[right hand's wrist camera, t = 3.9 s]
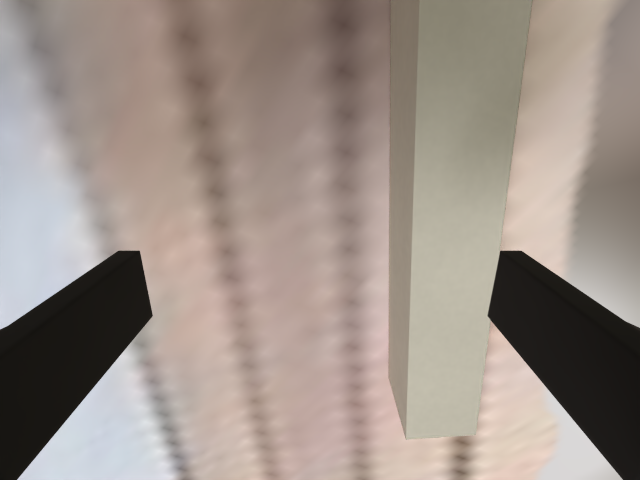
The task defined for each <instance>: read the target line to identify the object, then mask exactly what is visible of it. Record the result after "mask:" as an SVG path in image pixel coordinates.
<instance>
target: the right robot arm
mask: <svg viewBox="0 0 640 480" xmlns="http://www.w3.org/2000/svg"><path fill="white" fill-rule="evenodd" d="M152 316H153V315H152V310H151V305H150V300H149V295H148V290H147V285H146V280H145V275H144V270H143V265H142V260H141V255H140V251H118V252H116V253H115V254H113V255H112V256H110V257H109V258H107V259H106V260H104V261H103V262H101V263H100V264H99V265H97V266H96V267H94V268H93V269H91V270H90V271H88V272H87V273H85V274H84V275H82V276H81V277H79V278H78V279H76V280H75V281H73V282H72V283H71V284H69V285H68V286H66V287H65V288H63V289H62V290H60V291H59V292H57V293H56V294H54V295H53V296H51V297H50V298H48V299H47V300H45V301H44V302H43V303H41V304H40V305H38V306H37V307H35V308H34V309H32V310H31V311H29V312H28V313H26V314H25V315H23V316H22V317H20V318H19V319H18V320H16V321H15V322H13V323H12V324H10V325H9V326H7V327H5V328H3V329H0V480H17V479H18V478H19V477H20V475H21V474H22V473H23V472H24V471H25V469H26V468H27V467H28V466H29V465H30V463H31V462H32V461H33V460H34V459H35V457H36V456H37V455H38V454H39V452H40V451H41V450H42V449H43V448H44V446H45V445H46V444H47V443H48V442H49V440H50V439H51V438H52V437H53V436H54V434H55V433H56V432H57V431H58V430H59V428H60V427H61V426H62V425H63V424H64V422H65V421H66V420H67V419H68V417H69V416H70V415H71V414H72V413H73V411H74V410H75V409H76V408H77V407H78V405H79V404H80V403H81V402H82V401H83V399H84V398H85V397H86V396H87V395H88V393H89V392H90V391H91V390H92V389H93V387H94V386H95V385H96V384H97V383H98V381H99V380H100V379H101V378H102V376H103V375H104V374H105V373H106V372H107V370H108V369H109V368H110V367H111V366H112V364H113V363H114V362H115V361H116V360H117V358H118V357H119V356H120V355H121V354H122V352H123V351H124V350H125V349H126V348H127V346H128V345H129V344H130V343H131V341H132V340H133V339H134V338H135V337H136V335H137V334H138V333H139V332H140V331H141V329H142V328H143V327H144V326H145V325H146V323H147V322H148V321H149V320H150V319H151V317H152ZM487 316H488V317H489V319H490V320H491V321H492V322H493V323H494V325H495V326H496V327H497V328H498V329H499V331H500V332H501V333H502V334H503V335H504V337H505V338H506V339H507V340H508V341H509V343H510V344H511V345H512V346H513V348H514V349H515V350H516V351H517V352H518V354H519V355H520V356H521V357H522V358H523V360H524V361H525V362H526V363H527V364H528V366H529V367H530V368H531V369H532V370H533V372H534V373H535V374H536V375H537V376H538V378H539V379H540V380H541V381H542V383H543V384H544V385H545V386H546V387H547V389H548V390H549V391H550V392H551V393H552V395H553V396H554V397H555V398H556V399H557V401H558V402H559V403H560V404H561V405H562V407H563V408H564V409H565V410H566V411H567V413H568V414H569V415H570V416H571V417H572V419H573V420H574V421H575V422H576V424H577V425H578V426H579V427H580V428H581V430H582V431H583V432H584V433H585V434H586V436H587V437H588V438H589V439H590V440H591V442H592V443H593V444H594V445H595V446H596V448H597V449H598V450H599V451H600V452H601V454H602V455H603V456H604V457H605V458H606V460H607V461H608V462H609V463H610V464H611V466H612V467H613V468H614V469H615V471H616V472H617V473H618V474H619V475H620V477H621V478H622V479H623V480H640V328H639V327H636V326H634V325H632V324H630V323H628V322H626V321H624V320H622V319H621V318H620V317H618V316H617V315H615V314H614V313H612V312H611V311H609V310H608V309H606V308H605V307H603V306H602V305H600V304H599V303H597V302H596V301H594V300H593V299H592V298H590V297H589V296H587V295H586V294H584V293H583V292H581V291H580V290H578V289H577V288H575V287H574V286H572V285H571V284H569V283H568V282H567V281H565V280H564V279H562V278H561V277H559V276H558V275H556V274H555V273H553V272H552V271H550V270H549V269H547V268H546V267H544V266H543V265H541V264H540V263H539V262H537V261H536V260H534V259H533V258H531V257H530V256H528V255H527V254H525V253H524V252H522V251H500V255H499V260H498V265H497V270H496V275H495V280H494V285H493V290H492V295H491V300H490V305H489V310H488V315H487Z"/></svg>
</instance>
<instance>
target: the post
mask: <svg viewBox="0 0 640 480" xmlns="http://www.w3.org/2000/svg"><path fill="white" fill-rule="evenodd" d="M531 7H532V0H391V11H390V208H389V381H390V384H391V388H392V392H393V395H394V399H395V402H396V406H397V409H398V413H399V417H400V420H401V424H402V427H403V431H404V434H405V438H406V440H407V439H422V438H438V437H453V436H469V435H476V429H477V421H478V414H479V406H480V398H481V391H482V383H483V375H484V368H485V360H486V352H487V345H488V337H489V329H490V322H491V320H490V319H489V317H488V316H487V315H488V310H489V305H490V300H491V295H492V290H493V285H494V280H495V275H496V270H497V265H498V260H499V253H500V245H501V237H502V230H503V222H504V214H505V206H506V199H507V191H508V183H509V176H510V168H511V160H512V153H513V145H514V137H515V130H516V122H517V114H518V107H519V99H520V91H521V84H522V76H523V68H524V61H525V53H526V45H527V38H528V30H529V22H530V15H531Z"/></svg>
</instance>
